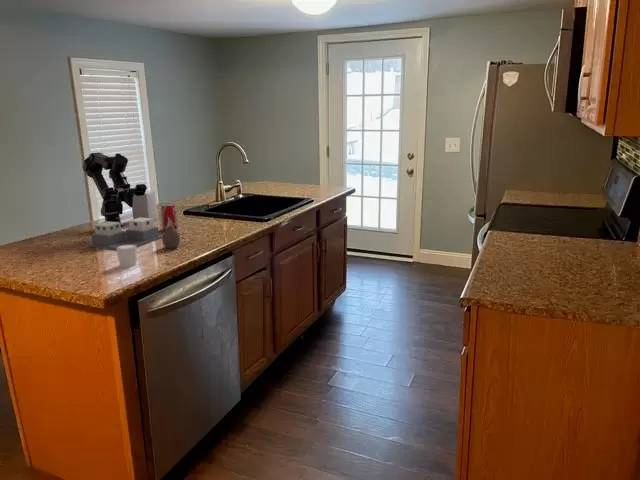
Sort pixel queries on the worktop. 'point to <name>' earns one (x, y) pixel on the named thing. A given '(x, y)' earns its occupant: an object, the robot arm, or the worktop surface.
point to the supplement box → (145, 206)
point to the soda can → (169, 215)
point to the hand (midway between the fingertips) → (131, 206)
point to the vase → (171, 238)
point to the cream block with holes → (141, 224)
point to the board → (125, 238)
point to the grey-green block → (107, 228)
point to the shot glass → (127, 255)
